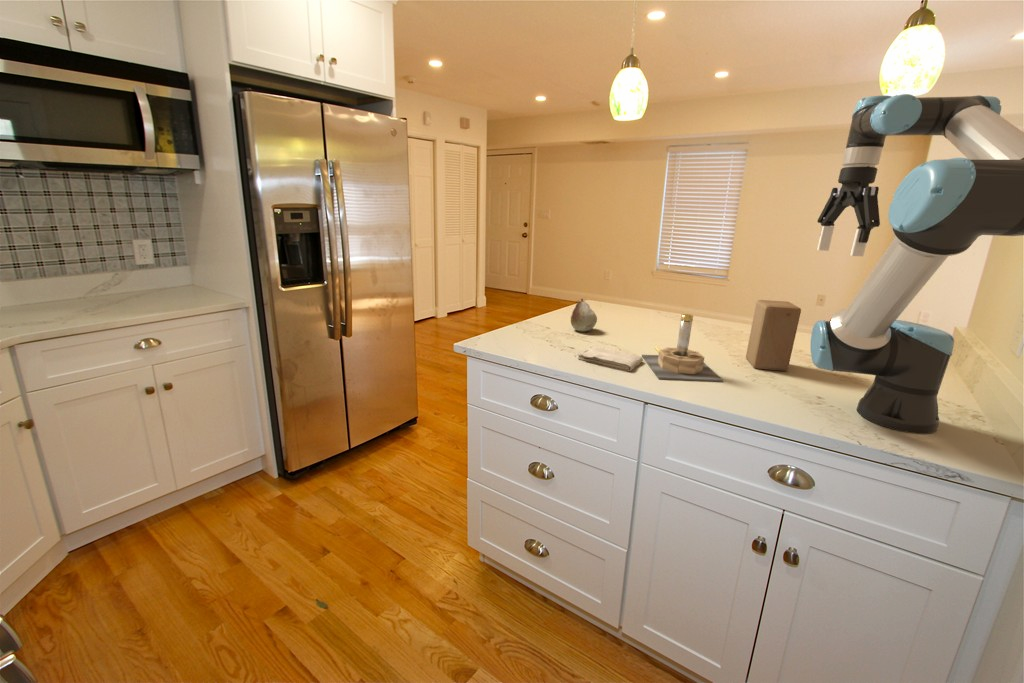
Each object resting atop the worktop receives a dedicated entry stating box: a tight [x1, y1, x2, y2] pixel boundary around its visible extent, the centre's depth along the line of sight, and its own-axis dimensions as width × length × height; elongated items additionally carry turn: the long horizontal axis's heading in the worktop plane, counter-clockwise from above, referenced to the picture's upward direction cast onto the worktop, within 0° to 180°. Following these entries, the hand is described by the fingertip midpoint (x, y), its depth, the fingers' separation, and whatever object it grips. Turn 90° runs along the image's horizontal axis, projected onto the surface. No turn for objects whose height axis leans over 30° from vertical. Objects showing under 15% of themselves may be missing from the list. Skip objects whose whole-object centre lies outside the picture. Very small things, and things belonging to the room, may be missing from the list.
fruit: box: [570, 298, 598, 333], centre depth 175 cm, size 10×9×12 cm
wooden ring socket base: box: [641, 347, 724, 383], centre depth 139 cm, size 20×18×5 cm
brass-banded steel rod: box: [676, 313, 694, 357], centre depth 137 cm, size 3×3×16 cm
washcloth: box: [577, 345, 644, 372], centre depth 144 cm, size 12×18×3 cm, turn 57°
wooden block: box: [745, 299, 802, 372], centre depth 142 cm, size 10×10×20 cm
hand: (838, 253), depth 120 cm, fingers open, 13 cm apart
